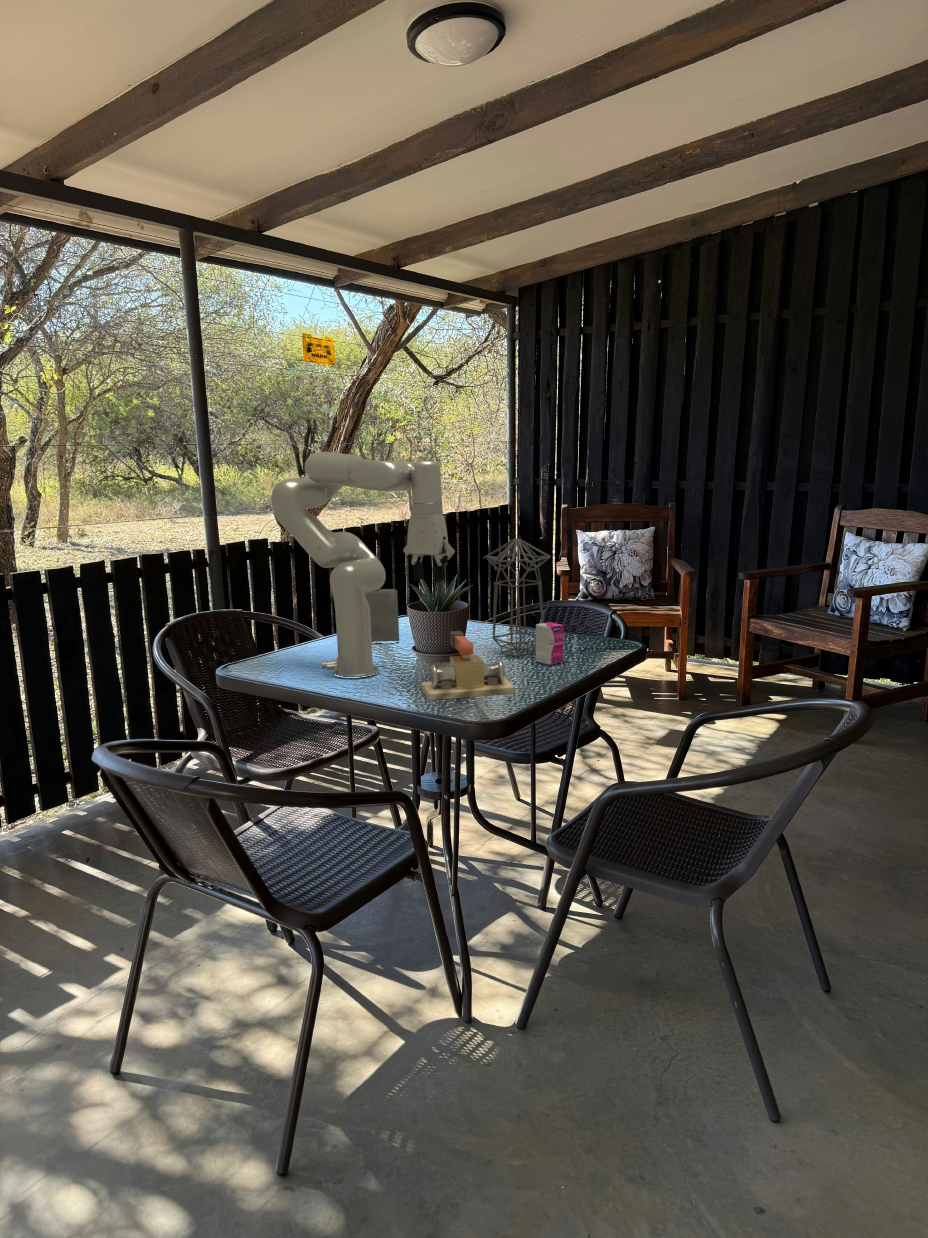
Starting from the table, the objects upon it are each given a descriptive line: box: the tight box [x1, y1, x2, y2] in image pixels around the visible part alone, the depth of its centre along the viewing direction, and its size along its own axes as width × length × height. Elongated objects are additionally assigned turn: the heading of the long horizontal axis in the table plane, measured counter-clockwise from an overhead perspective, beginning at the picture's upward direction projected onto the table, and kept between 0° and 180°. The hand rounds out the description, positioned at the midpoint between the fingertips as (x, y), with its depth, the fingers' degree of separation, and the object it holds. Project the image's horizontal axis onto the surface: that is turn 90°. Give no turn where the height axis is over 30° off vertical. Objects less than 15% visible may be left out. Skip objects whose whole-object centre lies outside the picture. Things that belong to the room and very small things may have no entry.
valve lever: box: [449, 630, 475, 659], centre depth 208 cm, size 16×4×4 cm, turn 12°
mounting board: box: [420, 676, 517, 701], centre depth 204 cm, size 22×12×2 cm, turn 102°
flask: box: [364, 588, 400, 642], centre depth 265 cm, size 15×6×20 cm, turn 96°
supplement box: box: [535, 621, 564, 667], centre depth 230 cm, size 6×6×12 cm
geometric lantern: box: [482, 537, 552, 657], centre depth 241 cm, size 16×16×35 cm
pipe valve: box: [429, 654, 505, 690], centre depth 203 cm, size 18×8×8 cm, turn 102°
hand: (429, 579), depth 208 cm, fingers open, 6 cm apart
